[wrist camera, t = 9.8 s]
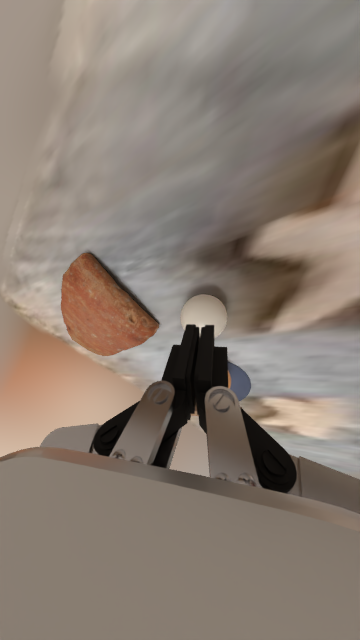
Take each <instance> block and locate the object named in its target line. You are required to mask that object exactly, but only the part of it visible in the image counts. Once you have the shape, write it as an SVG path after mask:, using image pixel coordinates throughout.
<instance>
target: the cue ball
mask: <svg viewBox="0 0 360 640" xmlns="http://www.w3.org/2000/svg"><path fill="white" fill-rule="evenodd" d="M226 323H227V312H226V309H225V306H224V305H223V303H222V302H221V301H220V300H219V299H217V298H216V297H214V296H211V295H207V294H201V295H197V296H194V297H192V298H191V299H189V300H188V301H187V302H186V303H185V305H184V306H183V308H182V311H181V324H182V327H183V329H184V330H185V328H186V325H187V324H195V325H196V327H199V333H200V334H201V328H202V327H205V325H214V338H216V337H217V336H219V335H220V334H221V333H222V332H223V330H224V328H225V326H226Z"/></svg>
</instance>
